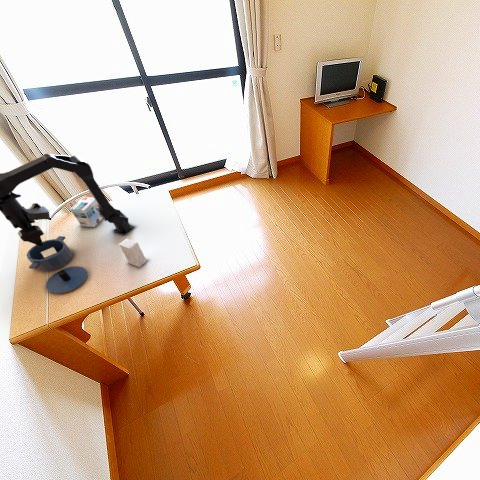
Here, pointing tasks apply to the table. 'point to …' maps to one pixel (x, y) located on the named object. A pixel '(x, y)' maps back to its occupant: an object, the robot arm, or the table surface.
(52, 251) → the block
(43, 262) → the pot
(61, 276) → the lid
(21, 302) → the table surface
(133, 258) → the cosmetic box
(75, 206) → the light bulb box
